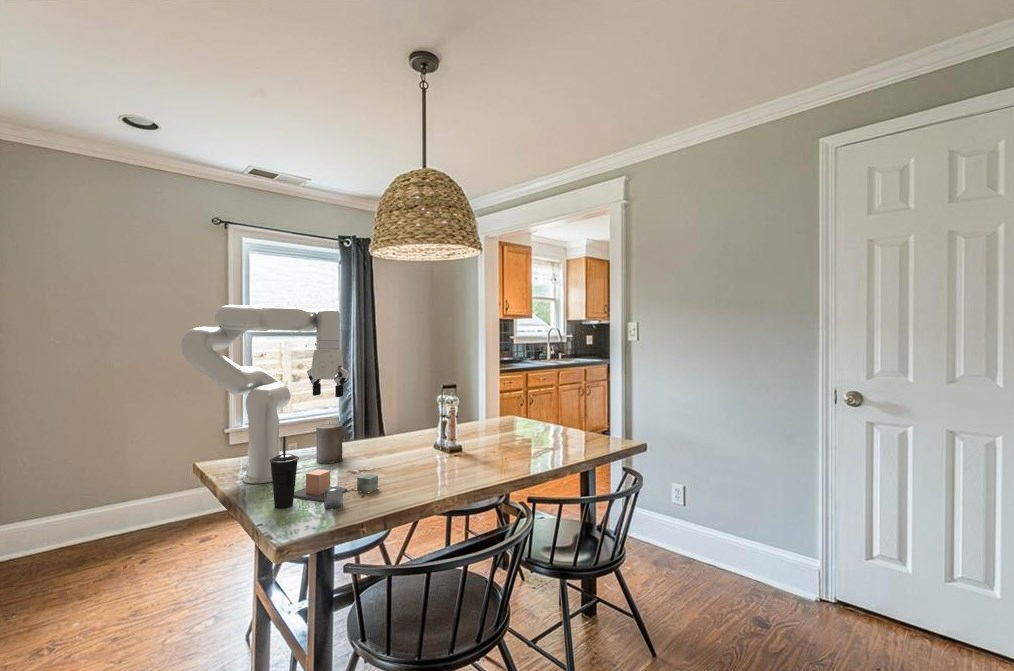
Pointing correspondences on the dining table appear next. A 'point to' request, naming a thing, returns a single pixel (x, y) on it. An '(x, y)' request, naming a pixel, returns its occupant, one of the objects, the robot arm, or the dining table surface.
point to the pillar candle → (329, 443)
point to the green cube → (367, 483)
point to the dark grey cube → (333, 497)
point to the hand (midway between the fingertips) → (327, 396)
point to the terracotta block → (317, 481)
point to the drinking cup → (284, 478)
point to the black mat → (310, 495)
